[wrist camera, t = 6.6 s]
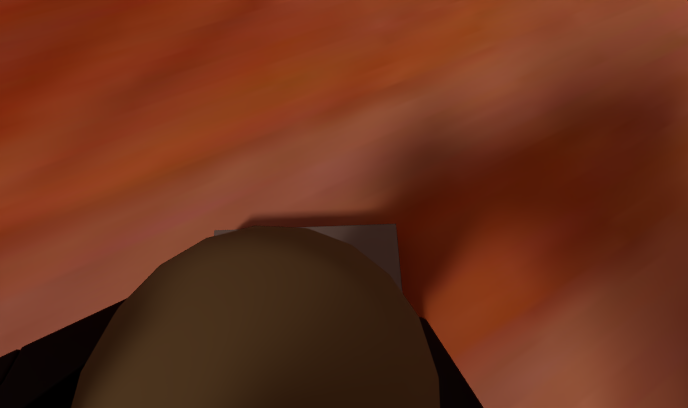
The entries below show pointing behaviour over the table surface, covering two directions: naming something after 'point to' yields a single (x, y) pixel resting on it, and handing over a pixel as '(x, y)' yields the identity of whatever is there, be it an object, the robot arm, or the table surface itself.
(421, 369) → the cork
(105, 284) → the table surface
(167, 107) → the table surface
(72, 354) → the robot arm
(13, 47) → the table surface
